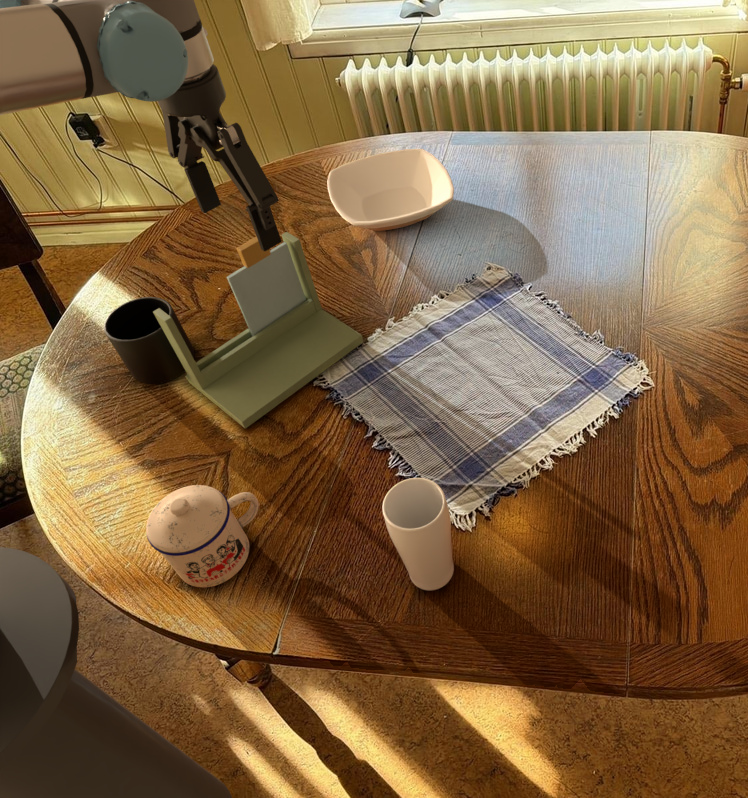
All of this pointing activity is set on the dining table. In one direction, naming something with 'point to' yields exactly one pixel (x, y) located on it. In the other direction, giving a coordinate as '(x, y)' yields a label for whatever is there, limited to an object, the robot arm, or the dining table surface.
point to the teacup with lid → (201, 533)
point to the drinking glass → (421, 531)
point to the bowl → (390, 189)
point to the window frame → (268, 353)
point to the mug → (145, 340)
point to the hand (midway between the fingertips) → (240, 226)
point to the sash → (265, 284)
